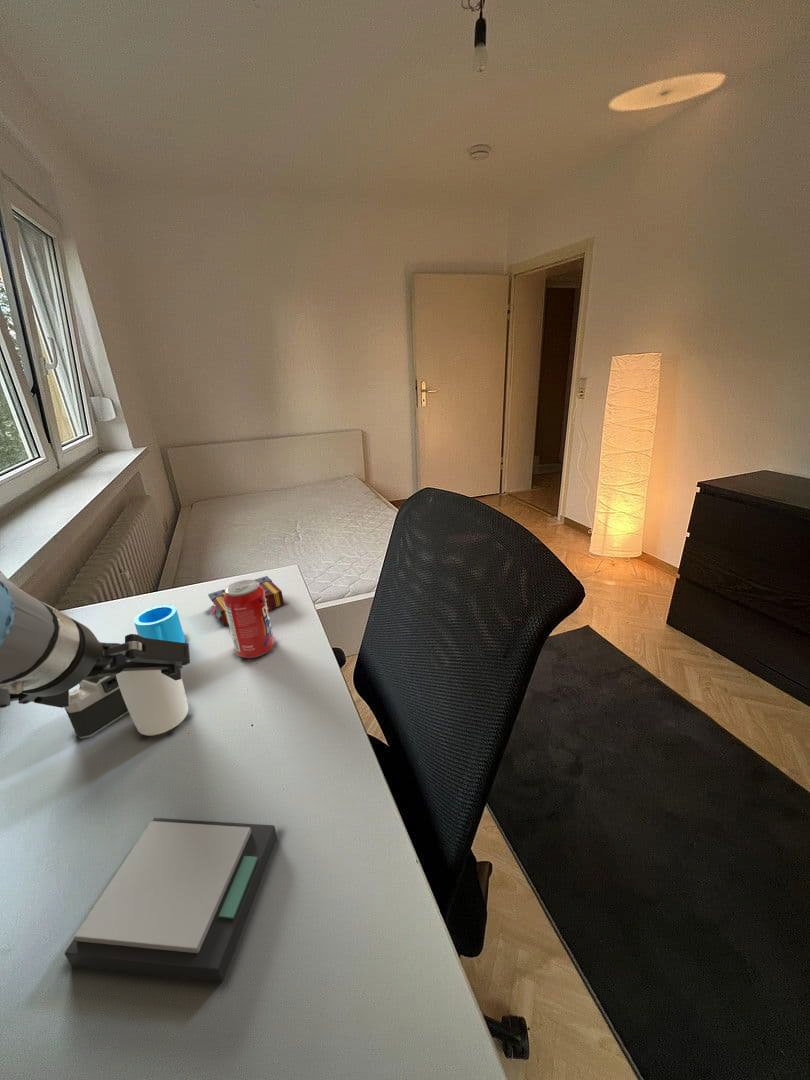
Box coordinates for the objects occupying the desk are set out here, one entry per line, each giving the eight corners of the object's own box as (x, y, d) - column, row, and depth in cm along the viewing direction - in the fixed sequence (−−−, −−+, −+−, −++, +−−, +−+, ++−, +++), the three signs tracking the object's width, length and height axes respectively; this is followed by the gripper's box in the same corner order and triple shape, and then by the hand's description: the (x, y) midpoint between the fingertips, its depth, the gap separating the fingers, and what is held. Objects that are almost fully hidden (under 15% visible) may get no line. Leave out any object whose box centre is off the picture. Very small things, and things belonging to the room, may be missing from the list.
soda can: (228, 658, 91) (212, 593, 86) (251, 637, 98) (238, 576, 93) (260, 663, 89) (246, 597, 83) (282, 641, 96) (270, 579, 90)
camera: (151, 672, 88) (137, 629, 85) (176, 685, 84) (163, 640, 80) (61, 726, 76) (40, 678, 72) (86, 744, 71) (65, 694, 68)
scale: (71, 967, 44) (60, 948, 43) (159, 830, 57) (152, 813, 56) (223, 984, 42) (215, 964, 41) (277, 838, 55) (273, 820, 54)
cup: (138, 751, 69) (111, 677, 64) (134, 719, 76) (109, 650, 71) (196, 726, 74) (174, 655, 69) (188, 698, 80) (167, 632, 75)
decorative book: (285, 606, 110) (282, 588, 108) (218, 630, 102) (214, 611, 100) (269, 590, 119) (266, 573, 117) (207, 611, 110) (202, 593, 109)
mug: (144, 644, 98) (134, 612, 95) (184, 632, 102) (175, 601, 99) (143, 673, 88) (132, 638, 85) (188, 659, 92) (178, 625, 89)
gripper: (-143, 731, 37) (12, 739, 55) (184, 656, 43) (223, 686, 62) (-127, 643, 39) (16, 679, 58) (178, 586, 46) (217, 634, 65)
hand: (123, 682), depth 60 cm, fingers open, 13 cm apart
